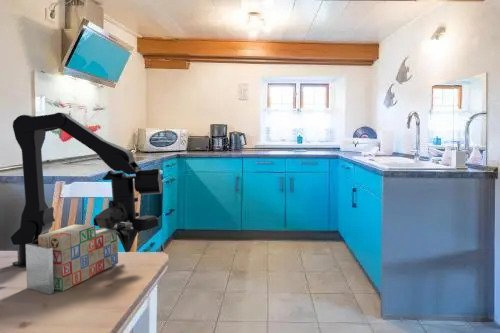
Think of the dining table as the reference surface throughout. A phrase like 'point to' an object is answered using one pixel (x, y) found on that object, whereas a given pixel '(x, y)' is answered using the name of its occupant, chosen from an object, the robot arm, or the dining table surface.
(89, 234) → the stack of blocks
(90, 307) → the dining table surface
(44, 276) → the bookend
